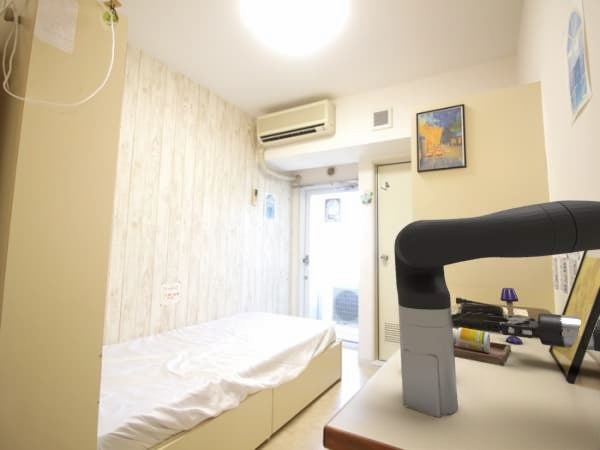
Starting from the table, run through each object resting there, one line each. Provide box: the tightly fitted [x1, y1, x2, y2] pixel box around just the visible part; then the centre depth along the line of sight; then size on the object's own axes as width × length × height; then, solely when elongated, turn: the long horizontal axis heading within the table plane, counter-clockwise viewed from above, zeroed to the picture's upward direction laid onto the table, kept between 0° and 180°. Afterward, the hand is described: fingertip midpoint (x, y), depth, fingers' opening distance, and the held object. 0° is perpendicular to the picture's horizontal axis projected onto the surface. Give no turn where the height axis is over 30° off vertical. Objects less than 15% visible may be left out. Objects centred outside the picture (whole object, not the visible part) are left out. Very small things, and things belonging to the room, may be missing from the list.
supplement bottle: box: [452, 327, 491, 353], centre depth 83 cm, size 5×5×10 cm
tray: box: [454, 341, 512, 367], centre depth 81 cm, size 15×14×2 cm
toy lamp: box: [500, 287, 524, 345], centre depth 92 cm, size 5×5×17 cm
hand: (485, 322), depth 80 cm, fingers open, 8 cm apart
